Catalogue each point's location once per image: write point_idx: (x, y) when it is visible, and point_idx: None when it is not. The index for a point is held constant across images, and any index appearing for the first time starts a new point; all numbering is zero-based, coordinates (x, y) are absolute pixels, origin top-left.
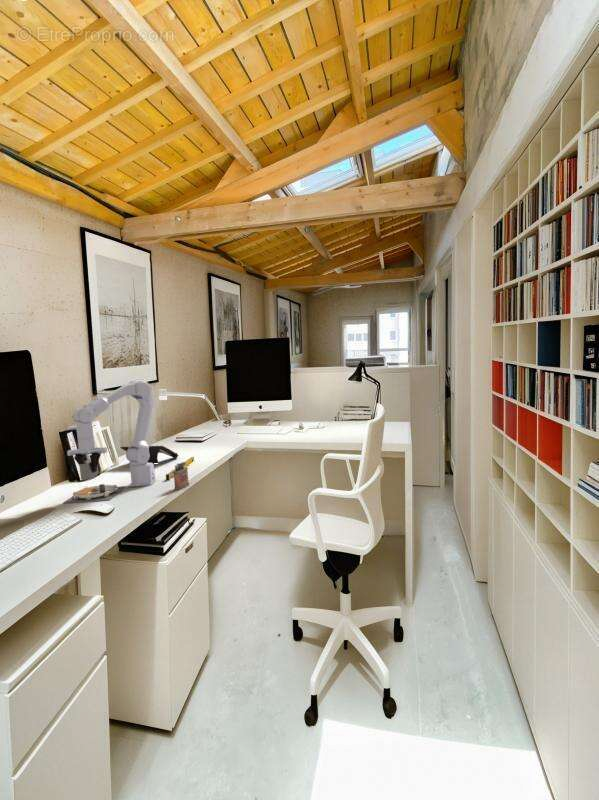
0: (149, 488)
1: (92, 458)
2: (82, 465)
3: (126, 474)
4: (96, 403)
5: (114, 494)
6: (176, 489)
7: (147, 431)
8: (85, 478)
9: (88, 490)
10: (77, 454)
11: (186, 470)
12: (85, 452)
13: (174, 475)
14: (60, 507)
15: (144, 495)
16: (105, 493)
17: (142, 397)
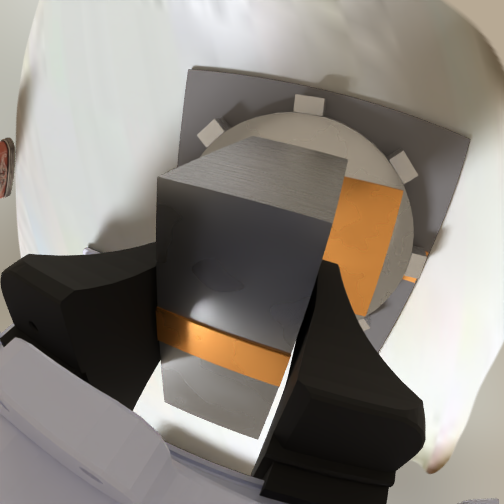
0: (78, 205)
1: (79, 272)
2: (277, 198)
3: (228, 436)
4: None
5: (186, 161)
6: (8, 139)
7: None
8: (299, 148)
9: (335, 252)
10: (341, 501)
11: None
12: (11, 347)
13: None
14: (464, 61)
15: (69, 104)
16: (211, 128)
17: None
